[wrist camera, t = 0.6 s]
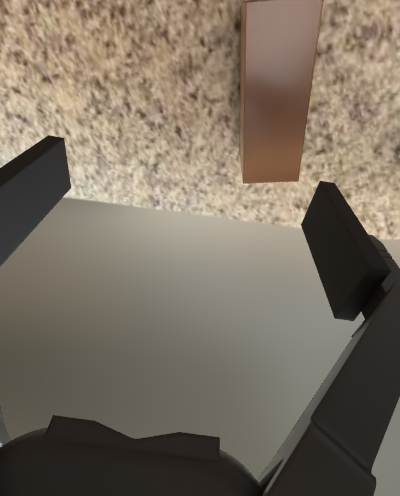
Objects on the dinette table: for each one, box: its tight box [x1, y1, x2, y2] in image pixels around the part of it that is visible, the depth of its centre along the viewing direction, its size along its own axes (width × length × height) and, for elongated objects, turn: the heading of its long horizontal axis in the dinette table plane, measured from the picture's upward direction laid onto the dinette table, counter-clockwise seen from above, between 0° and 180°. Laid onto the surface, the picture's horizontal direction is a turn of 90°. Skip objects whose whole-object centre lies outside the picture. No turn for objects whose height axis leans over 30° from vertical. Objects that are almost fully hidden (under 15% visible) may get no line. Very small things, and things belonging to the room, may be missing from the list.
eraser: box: [240, 0, 323, 184], centre depth 24 cm, size 12×5×8 cm, turn 5°
